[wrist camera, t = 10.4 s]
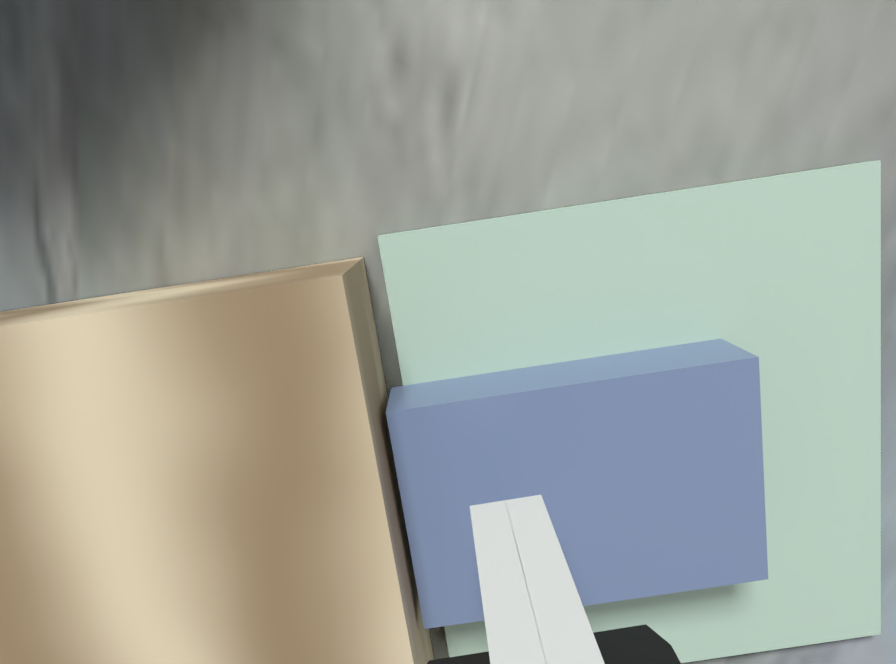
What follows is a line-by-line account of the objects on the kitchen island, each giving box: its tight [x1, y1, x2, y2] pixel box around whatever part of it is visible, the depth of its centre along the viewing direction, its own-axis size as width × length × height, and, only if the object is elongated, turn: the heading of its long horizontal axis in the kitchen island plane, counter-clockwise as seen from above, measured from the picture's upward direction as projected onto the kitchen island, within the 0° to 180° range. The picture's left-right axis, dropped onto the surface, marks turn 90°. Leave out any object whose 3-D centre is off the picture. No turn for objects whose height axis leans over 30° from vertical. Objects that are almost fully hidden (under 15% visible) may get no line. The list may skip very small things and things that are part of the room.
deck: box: [0, 257, 434, 664], centre depth 16 cm, size 18×13×4 cm
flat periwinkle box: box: [386, 339, 768, 629], centre depth 17 cm, size 9×6×2 cm, turn 98°
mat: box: [378, 160, 881, 663], centre depth 18 cm, size 13×14×1 cm
